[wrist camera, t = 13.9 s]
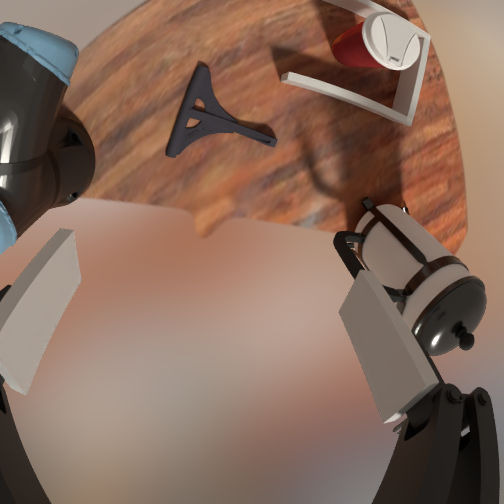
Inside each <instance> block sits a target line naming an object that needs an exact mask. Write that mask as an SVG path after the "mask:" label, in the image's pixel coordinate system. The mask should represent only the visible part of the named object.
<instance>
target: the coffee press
mask: <svg viewBox="0 0 504 504" xmlns="http://www.w3.org/2000/svg"><path fill="white" fill-rule="evenodd" d="M361 202H362V204H363V206H364V207H365V209H366V211H367V213H366V214H365V215H364V216H363V217H362V218H361V220H360V221H359V223H358V225H357V227H356V230H355V232H350V231H340V232H337V233H336V235H335V238H334V240H333V244H334V246H335V249H336V250H337V252H338V254H339V256H340V257H341V259H342V260H343V262H344V264H345V265H346V267H347V269H348V270H349V271H350V273H351V275H352V276H353V278H354V279H356V277H357V275H358V273H359V271H360V270H365V269H364V267H365V268H366V270H367V271H373V273H374V274H375V276H376V277H377V279H378V280H379V281H380V283H381V284H382V286H383V287H384V289H385V290H386V292H387V294H388V295H389V297H390V298H391V300H392V301H393V303H394V304H395V306H396V308H397V309H398V311H399V312H400V314H401V316H402V317H403V319H404V320H405V322H406V324H407V325H408V327H409V329H410V330H411V331H413V332H414V333H415V334H416V335H417V336H418V337H419V338H420V340H421V341H422V343H423V345H424V347H425V350H427V352H428V353H429V355H430V356H437V355H441V354H444V353H447V352H449V351H451V350H453V349H454V348H456V347H457V346H459V347H460V348H461V349H462V350H469V349H470V348H472V346H473V345H474V335H473V334H472V333H473V331H474V330H475V329H476V327H477V326H478V324H479V323H480V321H481V319H482V317H483V315H484V312H485V309H486V302H487V300H486V294H485V286H484V284H483V282H482V281H481V280H480V279H479V278H478V277H476V276H473V275H472V274H470V272H469V270H468V268H467V267H466V266H465V265H464V264H463V263H462V262H461V261H460V260H459V259H458V258H457V257H455V256H453V255H452V254H451V253H450V252H449V251H448V250H447V249H446V248H445V247H444V246H443V245H442V244H441V243H440V242H439V241H438V240H436V239H435V238H434V237H433V236H432V235H431V234H430V233H429V232H428V231H427V230H425V229H424V228H423V227H422V226H421V225H420V224H419V223H418V222H416V221H415V220H414V219H413V218H412V217H410V216H409V215H410V214H409V211H408V208H407V207H403V208H402V209H400V208H399V207H397V206H395V205H390V204H385V205H380V206H377V207H375V206H374V205H373V203H372V202H371V200H370V199H369V198H368V197H366V198H364V199H363V200H361ZM347 242H353V243H347ZM351 248H355V250H356V251H354V250H353V249H351ZM356 252H357V253H356ZM355 255H356V256H357V257H358V258H359V260H360V261H361V263H362V264H363V265H364V267H363V266H362V264H361V263H360V261H359V260H358V258H357V257H356V256H355Z"/></svg>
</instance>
